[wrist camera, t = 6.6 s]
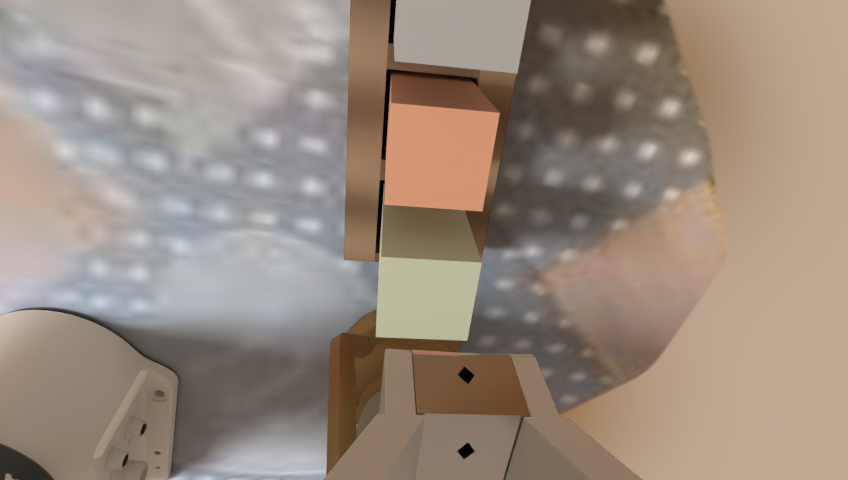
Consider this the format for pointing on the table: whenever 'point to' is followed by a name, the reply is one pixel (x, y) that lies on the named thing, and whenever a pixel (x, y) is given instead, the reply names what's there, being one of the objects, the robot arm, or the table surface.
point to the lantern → (362, 380)
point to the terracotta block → (438, 141)
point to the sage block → (426, 273)
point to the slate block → (461, 33)
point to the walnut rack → (365, 126)
